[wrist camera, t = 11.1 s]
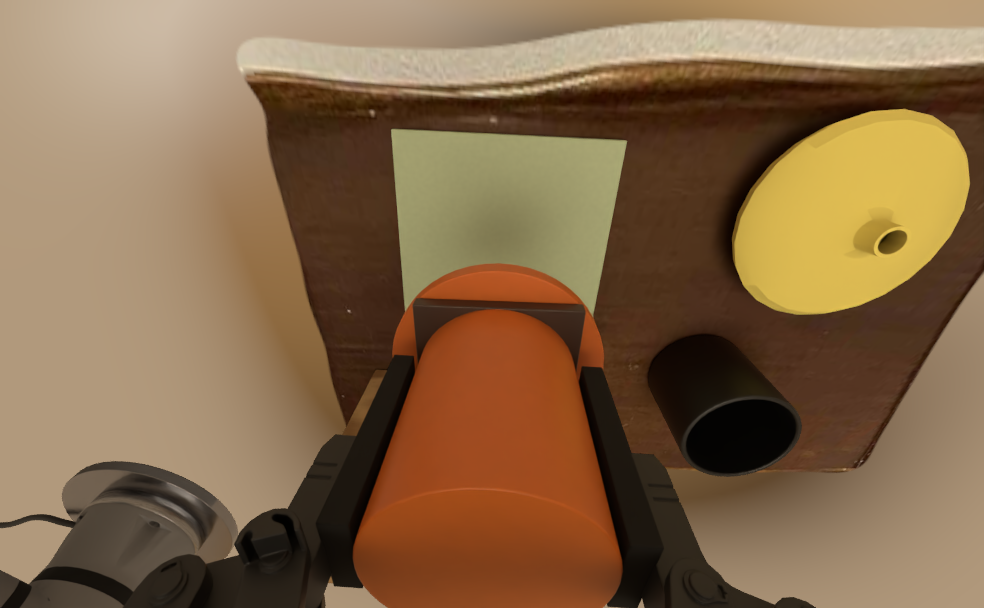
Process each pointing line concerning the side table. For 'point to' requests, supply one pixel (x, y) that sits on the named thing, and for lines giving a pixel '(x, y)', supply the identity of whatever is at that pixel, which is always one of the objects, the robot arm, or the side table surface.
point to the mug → (721, 407)
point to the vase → (850, 212)
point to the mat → (504, 204)
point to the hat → (492, 454)
